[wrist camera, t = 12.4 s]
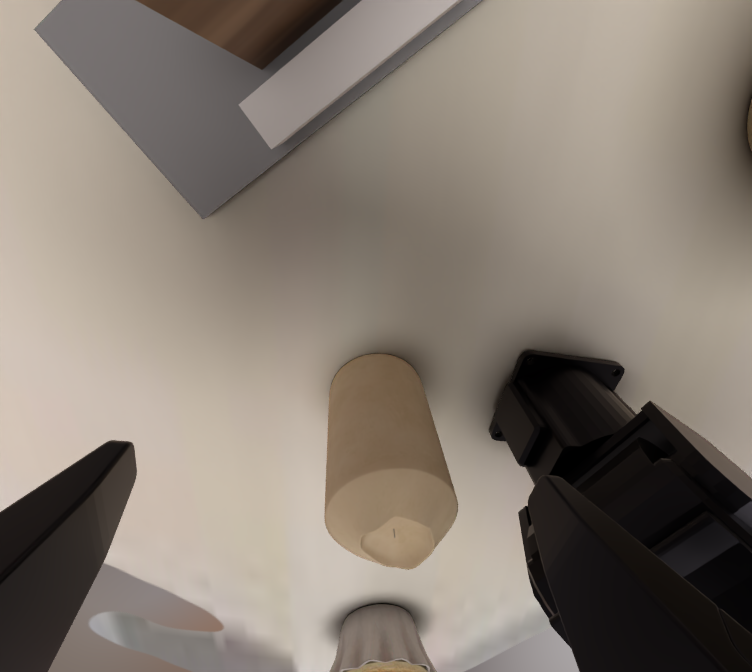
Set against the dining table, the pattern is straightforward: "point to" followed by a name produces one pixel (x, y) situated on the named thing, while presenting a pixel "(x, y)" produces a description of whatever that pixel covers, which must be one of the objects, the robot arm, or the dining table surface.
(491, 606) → the dining table surface
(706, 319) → the dining table surface
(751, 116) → the plant pot
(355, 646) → the cupcake
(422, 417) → the candle
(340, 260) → the dining table surface
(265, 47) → the door
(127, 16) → the board
